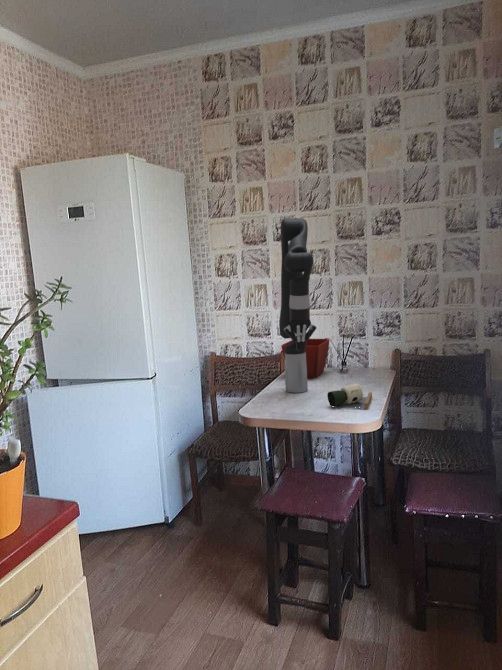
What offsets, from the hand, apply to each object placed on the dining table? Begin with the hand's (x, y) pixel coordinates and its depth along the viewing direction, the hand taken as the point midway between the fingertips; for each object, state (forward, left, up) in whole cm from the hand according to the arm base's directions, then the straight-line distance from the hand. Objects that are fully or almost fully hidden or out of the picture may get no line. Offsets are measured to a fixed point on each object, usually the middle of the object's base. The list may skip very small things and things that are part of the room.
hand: (300, 350), depth 206 cm
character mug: (+9, +4, -21) cm, 23 cm away
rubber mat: (+17, +11, -24) cm, 32 cm away
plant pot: (-12, +59, -24) cm, 65 cm away
